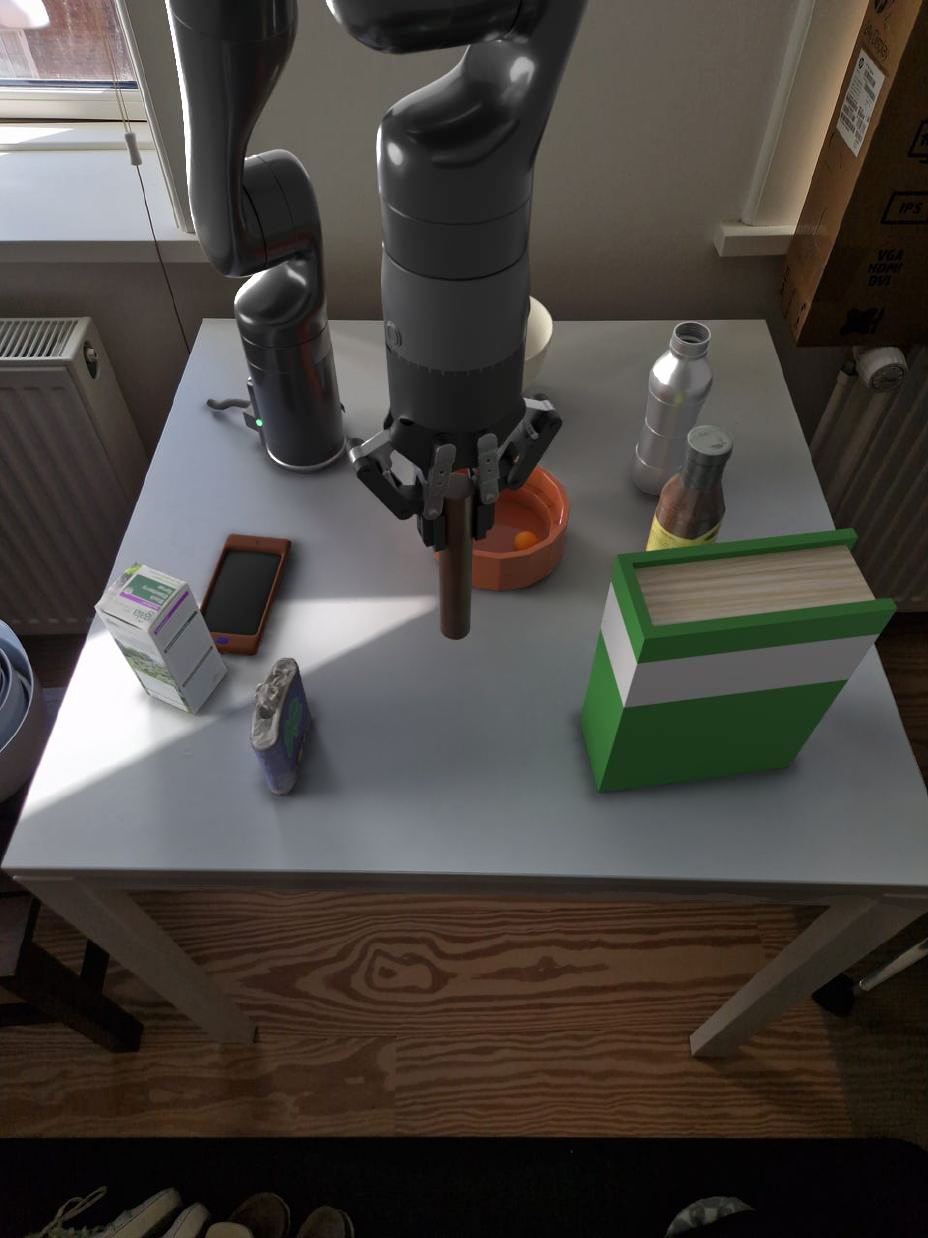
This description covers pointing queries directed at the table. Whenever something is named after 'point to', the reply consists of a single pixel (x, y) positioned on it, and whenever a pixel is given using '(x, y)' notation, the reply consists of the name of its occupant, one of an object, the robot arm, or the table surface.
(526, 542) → the ball
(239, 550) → the smartphone
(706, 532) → the sauce bottle
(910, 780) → the table surface
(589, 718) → the hardback book
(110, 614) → the syrup box
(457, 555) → the stick
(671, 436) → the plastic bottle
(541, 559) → the mixing bowl
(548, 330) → the bowl
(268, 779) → the flask
